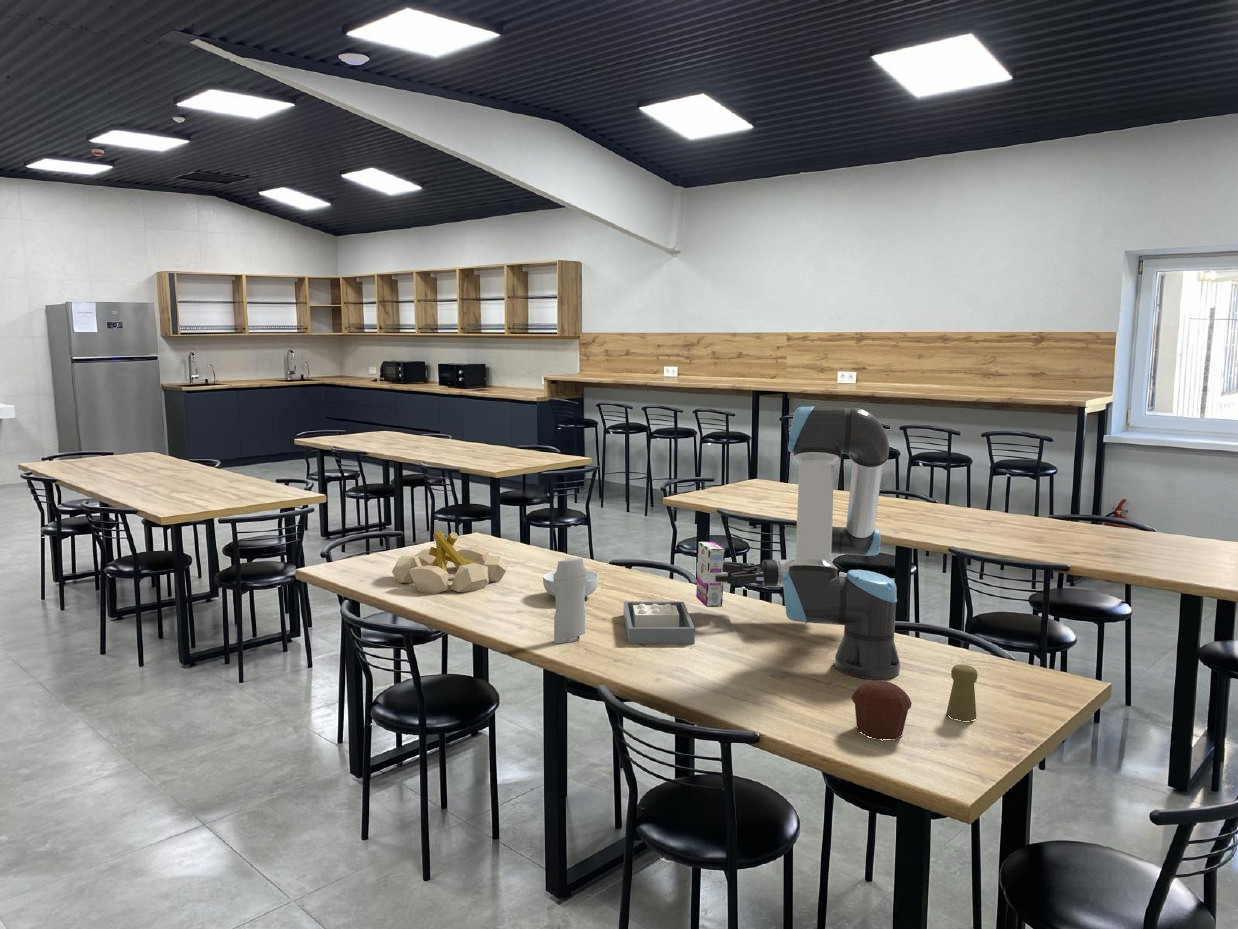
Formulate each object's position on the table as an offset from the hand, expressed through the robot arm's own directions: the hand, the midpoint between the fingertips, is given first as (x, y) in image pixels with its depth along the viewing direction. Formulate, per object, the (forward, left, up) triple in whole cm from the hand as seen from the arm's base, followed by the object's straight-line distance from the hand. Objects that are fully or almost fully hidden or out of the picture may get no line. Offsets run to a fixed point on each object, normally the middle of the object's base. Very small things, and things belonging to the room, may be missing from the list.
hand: (699, 572), depth 249 cm
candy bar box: (0, -3, -9) cm, 9 cm away
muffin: (-74, -27, -14) cm, 79 cm away
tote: (-12, +13, -14) cm, 22 cm away
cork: (-67, -47, -14) cm, 82 cm away
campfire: (+42, +75, -14) cm, 87 cm away
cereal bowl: (+21, +36, -14) cm, 44 cm away
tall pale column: (-18, +36, -14) cm, 43 cm away
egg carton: (-6, +13, -13) cm, 19 cm away
